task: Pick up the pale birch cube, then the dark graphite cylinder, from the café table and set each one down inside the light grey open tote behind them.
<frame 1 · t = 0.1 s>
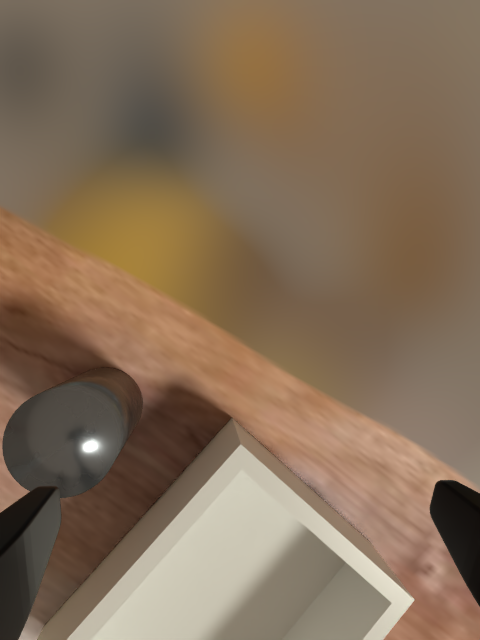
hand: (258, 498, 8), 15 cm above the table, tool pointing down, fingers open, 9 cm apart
metal cylinder: (104, 404, 22), on the table
tote: (217, 582, 23), on the table
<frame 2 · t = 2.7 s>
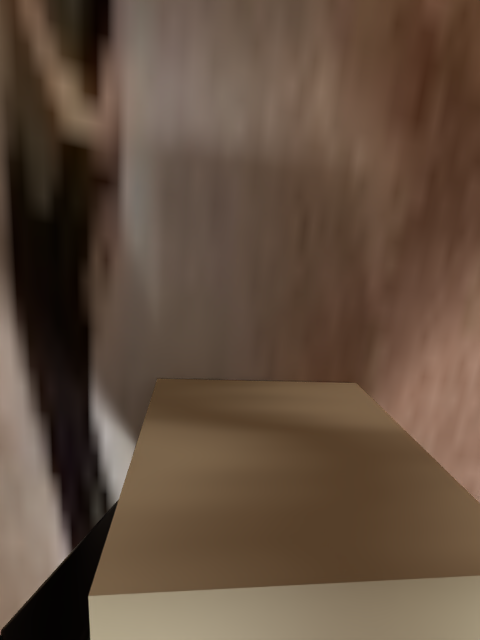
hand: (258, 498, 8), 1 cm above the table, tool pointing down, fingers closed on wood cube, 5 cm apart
wood cube: (252, 467, 9), on the table, touching gripper
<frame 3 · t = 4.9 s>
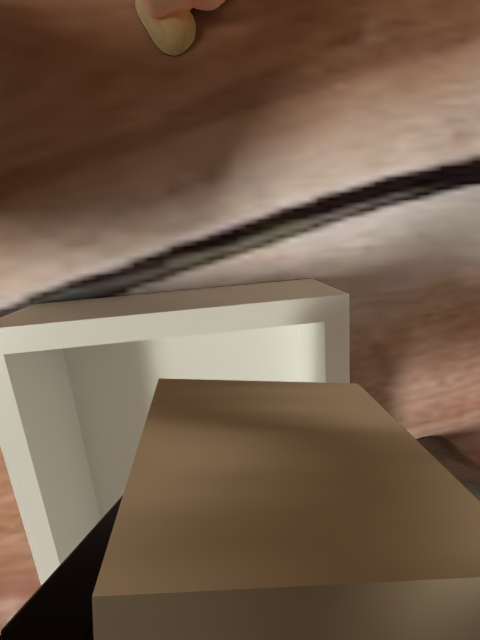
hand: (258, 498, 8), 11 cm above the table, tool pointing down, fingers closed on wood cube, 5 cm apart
wood cube: (253, 468, 9), point 10 cm above the table, touching gripper
metal cylinder: (423, 471, 21), on the table
tote: (197, 444, 19), on the table
when the fingers open (3 cm above the table, at t = 6.9 s): wood cube drops 2 cm, resting on tote.
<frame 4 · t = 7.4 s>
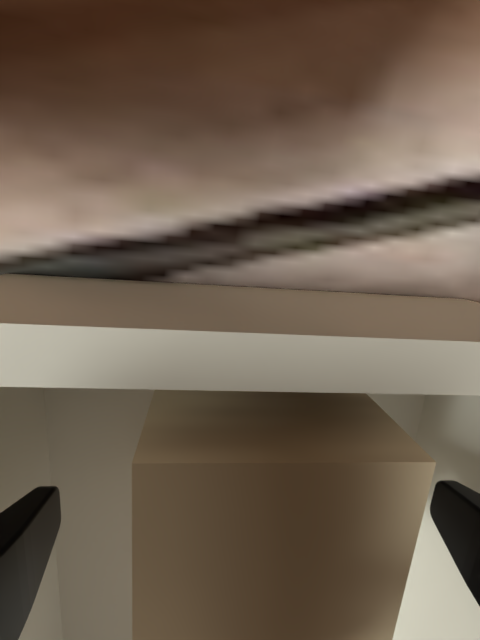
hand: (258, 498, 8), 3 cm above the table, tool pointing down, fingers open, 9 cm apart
wood cube: (244, 427, 11), resting on tote
tote: (233, 529, 12), on the table
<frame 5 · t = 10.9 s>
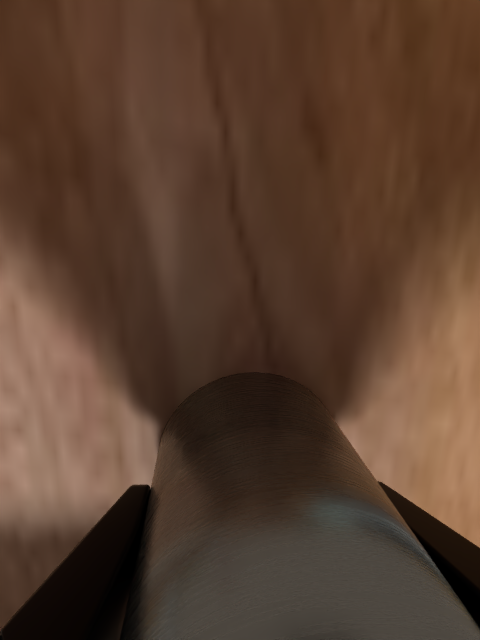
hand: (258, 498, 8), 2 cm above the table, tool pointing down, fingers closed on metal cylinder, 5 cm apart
metal cylinder: (249, 455, 9), on the table, touching gripper
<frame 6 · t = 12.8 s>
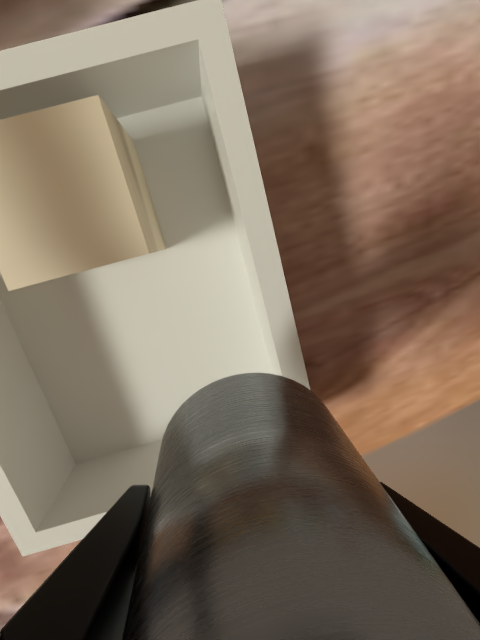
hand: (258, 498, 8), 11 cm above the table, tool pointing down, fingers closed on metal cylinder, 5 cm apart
wood cube: (99, 210, 16), resting on tote
metal cylinder: (251, 455, 9), point 9 cm above the table, touching gripper
tote: (133, 299, 17), on the table
when the fingers open (4 cm above the table, at t = 14.9 s): metal cylinder drops 2 cm, resting on tote.
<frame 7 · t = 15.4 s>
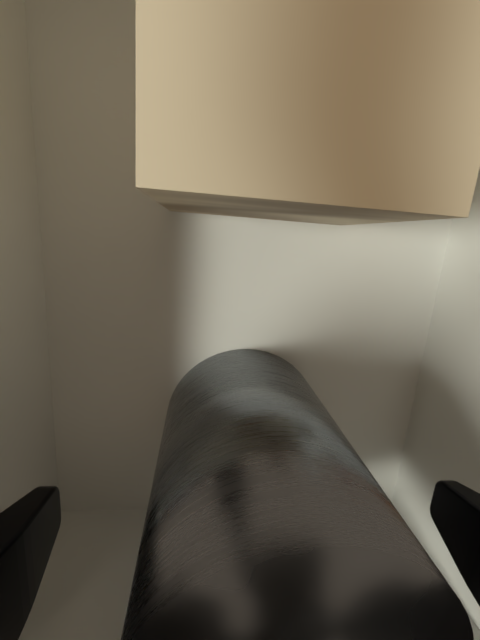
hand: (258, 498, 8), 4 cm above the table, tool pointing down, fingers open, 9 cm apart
wood cube: (266, 122, 9), resting on tote
metal cylinder: (242, 419, 11), resting on tote
tote: (251, 285, 11), on the table
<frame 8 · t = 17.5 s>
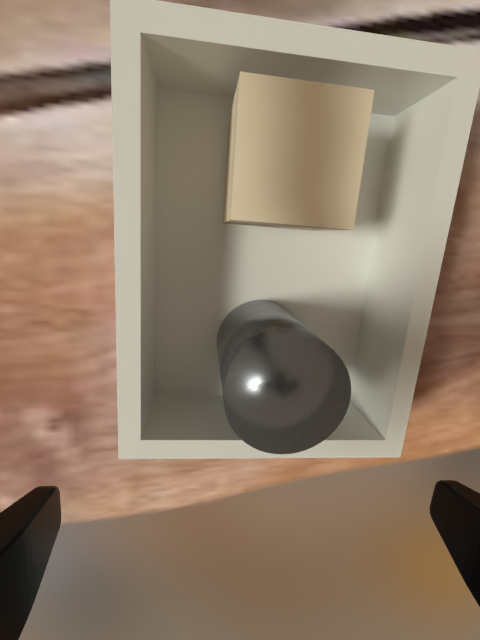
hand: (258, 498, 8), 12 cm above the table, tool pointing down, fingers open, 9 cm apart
wood cube: (273, 177, 18), resting on tote
metal cylinder: (259, 341, 20), resting on tote
tote: (264, 263, 19), on the table
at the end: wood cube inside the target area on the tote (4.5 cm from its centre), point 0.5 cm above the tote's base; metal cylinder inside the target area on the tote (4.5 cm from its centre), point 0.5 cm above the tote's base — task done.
